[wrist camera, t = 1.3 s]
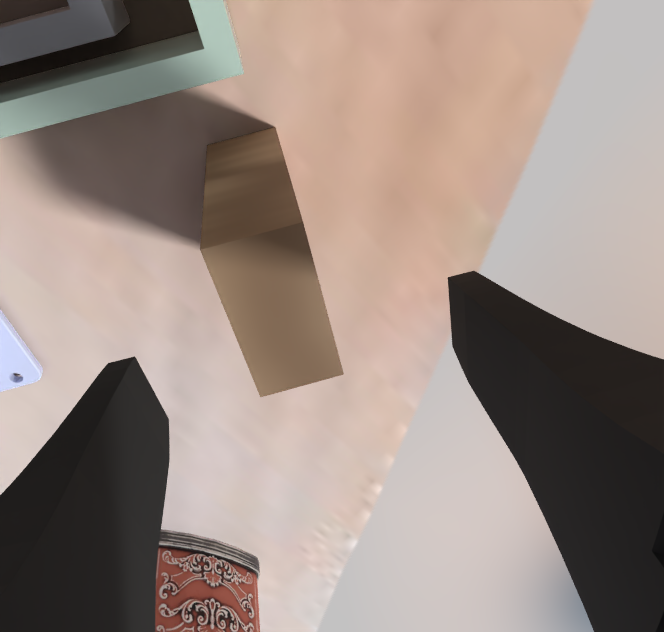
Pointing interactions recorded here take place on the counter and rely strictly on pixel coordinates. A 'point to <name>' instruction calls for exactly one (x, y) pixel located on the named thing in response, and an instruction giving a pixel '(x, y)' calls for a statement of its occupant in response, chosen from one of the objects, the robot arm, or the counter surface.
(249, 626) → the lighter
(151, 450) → the robot arm
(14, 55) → the sage green storage tray
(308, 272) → the wood grain brick
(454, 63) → the counter surface
